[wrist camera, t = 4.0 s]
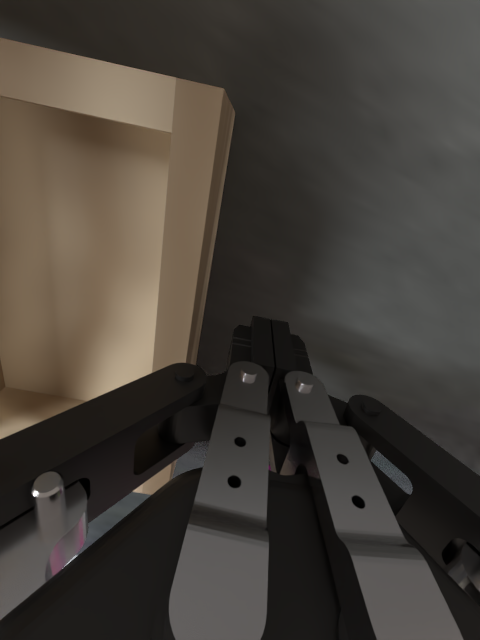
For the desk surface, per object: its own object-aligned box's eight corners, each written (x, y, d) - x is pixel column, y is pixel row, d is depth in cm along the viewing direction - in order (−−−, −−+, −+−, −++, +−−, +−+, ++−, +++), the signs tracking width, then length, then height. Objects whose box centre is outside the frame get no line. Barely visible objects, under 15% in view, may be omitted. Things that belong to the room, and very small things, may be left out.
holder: (0, 386, 19) (-77, 457, 15) (-66, 45, 12) (-260, -22, 7) (187, 419, 20) (166, 497, 15) (235, 112, 13) (223, 88, 8)
